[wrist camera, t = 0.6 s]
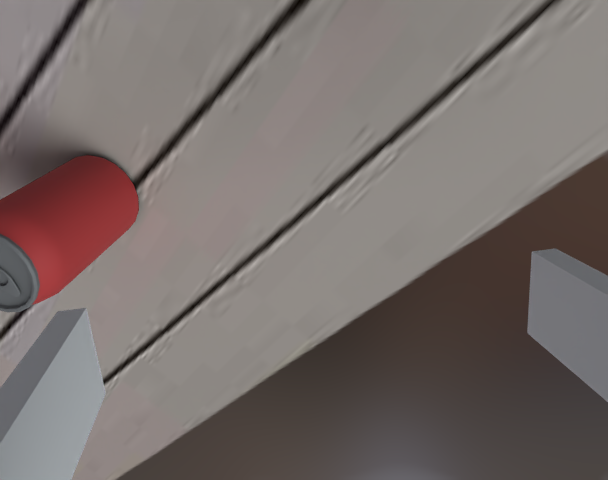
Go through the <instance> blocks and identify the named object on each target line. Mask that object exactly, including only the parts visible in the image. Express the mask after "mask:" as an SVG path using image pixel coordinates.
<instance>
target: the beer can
mask: <svg viewBox="0 0 608 480" xmlns="http://www.w3.org/2000/svg"><path fill="white" fill-rule="evenodd" d="M138 211H139V204H138V195H137V193H136V190H135V187H134V185H133V183H132V182H131V180H130V179H129V177H128V176H127V175H126V173H125V172H124V171H122V170H121V169H120V168H119V167H118V166H117V165H116V164H114V163H112V162H110V161H108V160H106V159H104V158H101V157H96V156H90V155H86V156H80V157H75V158H74V159H72V160H70V161H68V162H67V163H65V164H63V165H61V166H59V167H58V168H56V169H54V170H52V171H51V172H49V173H47V174H45V175H44V176H42V177H40V178H38V179H36V180H35V181H33V182H31V183H29V184H28V185H26V186H24V187H22V188H21V189H19V190H17V191H15V192H13V193H12V194H10V195H8V196H6V197H5V198H3V199H1V200H0V310H1V311H5V312H20V311H22V310H24V309H26V308H29V307H30V306H31V305H33V304H36V303H39V302H41V301H43V300H45V299H47V298H50V297H51V296H53V295H55V294H57V293H59V292H60V291H61V290H62V289H63V288H64V287H65V286H66V285H67V284H69V283H70V282H71V281H72V280H73V279H74V278H75V277H76V276H77V275H79V274H80V273H81V272H82V271H83V270H84V269H85V268H86V267H87V266H88V265H90V264H91V263H92V262H93V261H94V260H95V259H96V258H97V257H98V256H99V255H101V254H102V253H103V252H104V251H105V250H106V249H107V248H108V247H109V246H111V245H112V244H113V243H114V242H115V241H116V240H117V239H118V238H119V237H120V236H122V235H123V234H124V233H125V232H126V231H127V230H128V229H129V228H130V227H131V226H132V224H133V223H134V222H135V220H136V217H137V214H138Z"/></svg>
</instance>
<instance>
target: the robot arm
mask: <svg viewBox="0 0 608 480" xmlns="http://www.w3.org/2000/svg"><path fill="white" fill-rule="evenodd" d="M531 260H532V261H531V277H530V278H531V279H530V296H529V314H528V334H529V335H530V336H532V337H533V338H534V339H535V340H536V341H537V342H539V343H540V344H541V345H542V346H543V347H544V348H546V349H547V350H548V351H549V352H550V353H551V354H552V355H554V356H555V357H556V358H557V359H558V360H559V361H561V362H562V363H563V364H564V365H565V366H566V367H568V368H569V369H570V370H571V371H572V372H574V373H575V374H576V375H577V376H578V377H579V378H581V379H582V380H583V381H584V382H585V383H586V384H587V385H589V386H590V387H591V388H592V389H593V390H594V391H596V392H597V393H598V394H599V395H600V396H601V397H603V398H604V399H605V400H606V401H607V402H608V276H607V275H605V274H603V273H601V272H599V271H597V270H595V269H593V268H591V267H590V266H587V265H586V264H584V263H582V262H580V261H578V260H576V259H574V258H572V257H571V256H569V255H567V254H565V253H563V252H561V251H559V250H557V249H549V250H541V251H533V252H532V258H531ZM105 394H106V392H105V388H104V383H103V379H102V375H101V370H100V366H99V362H98V357H97V353H96V348H95V344H94V340H93V335H92V331H91V326H90V322H89V318H88V313H87V309H86V308H81V309H74V310H66V311H58V312H57V313H56V315H55V316H54V317H53V319H52V320H51V321H50V323H49V324H48V325H47V327H46V328H45V329H44V331H43V332H42V333H41V335H40V336H39V337H38V339H37V340H36V341H35V343H34V344H33V345H32V347H31V348H30V349H29V351H28V352H27V353H26V355H25V356H24V357H23V359H22V360H21V361H20V363H19V364H18V365H17V367H16V368H15V369H14V371H13V372H12V373H11V375H10V376H9V377H8V379H7V380H6V381H5V383H4V384H3V385H2V387H1V388H0V480H71V479H72V476H73V474H74V471H75V469H76V466H77V464H78V461H79V459H80V456H81V454H82V451H83V449H84V446H85V444H86V441H87V439H88V436H89V434H90V431H91V429H92V426H93V424H94V421H95V419H96V416H97V414H98V411H99V409H100V406H101V404H102V401H103V399H104V396H105Z"/></svg>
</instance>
